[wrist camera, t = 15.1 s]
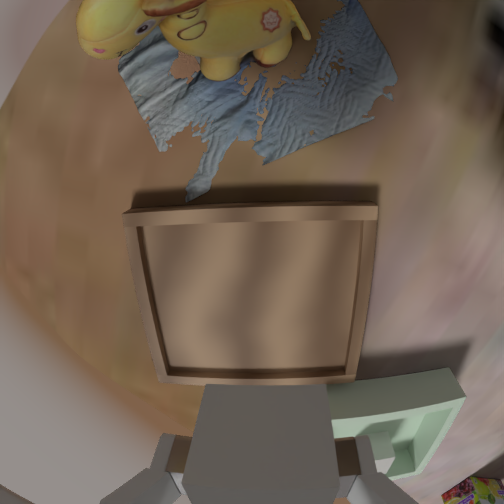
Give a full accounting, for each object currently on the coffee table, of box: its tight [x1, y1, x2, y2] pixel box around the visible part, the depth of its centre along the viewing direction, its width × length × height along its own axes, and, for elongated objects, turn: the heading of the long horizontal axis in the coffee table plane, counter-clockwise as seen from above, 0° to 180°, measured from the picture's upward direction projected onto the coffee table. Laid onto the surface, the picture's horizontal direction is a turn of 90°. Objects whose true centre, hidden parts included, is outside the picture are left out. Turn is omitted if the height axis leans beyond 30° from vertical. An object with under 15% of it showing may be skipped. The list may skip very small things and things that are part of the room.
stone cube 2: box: [181, 384, 340, 504], centre depth 9 cm, size 4×4×4 cm
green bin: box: [326, 367, 466, 480], centre depth 28 cm, size 15×15×5 cm
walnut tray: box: [122, 201, 378, 386], centre depth 25 cm, size 18×16×2 cm
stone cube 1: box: [357, 431, 396, 474], centre depth 29 cm, size 4×4×4 cm
